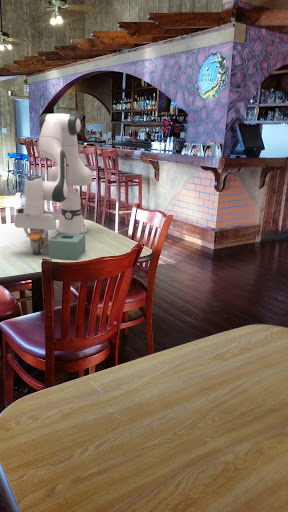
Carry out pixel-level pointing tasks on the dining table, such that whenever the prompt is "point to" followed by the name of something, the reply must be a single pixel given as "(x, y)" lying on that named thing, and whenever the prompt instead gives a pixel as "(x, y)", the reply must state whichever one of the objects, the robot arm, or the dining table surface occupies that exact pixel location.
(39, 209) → the robot arm
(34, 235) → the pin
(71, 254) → the block
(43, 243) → the coffee box
